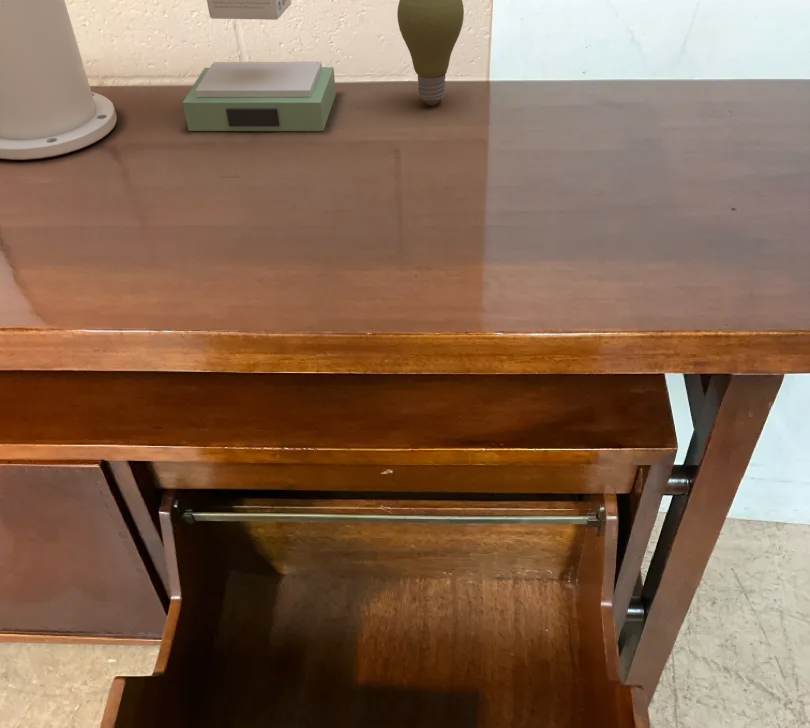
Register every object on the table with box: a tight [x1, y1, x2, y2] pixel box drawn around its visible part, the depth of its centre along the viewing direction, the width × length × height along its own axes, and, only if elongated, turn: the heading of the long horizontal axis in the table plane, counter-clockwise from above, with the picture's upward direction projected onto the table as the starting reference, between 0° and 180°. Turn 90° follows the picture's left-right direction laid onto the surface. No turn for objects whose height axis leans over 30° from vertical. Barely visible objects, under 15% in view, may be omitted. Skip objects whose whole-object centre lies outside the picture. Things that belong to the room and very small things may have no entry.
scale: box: [181, 61, 337, 132], centre depth 75 cm, size 12×8×3 cm
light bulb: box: [396, 0, 465, 106], centre depth 72 cm, size 6×6×10 cm
